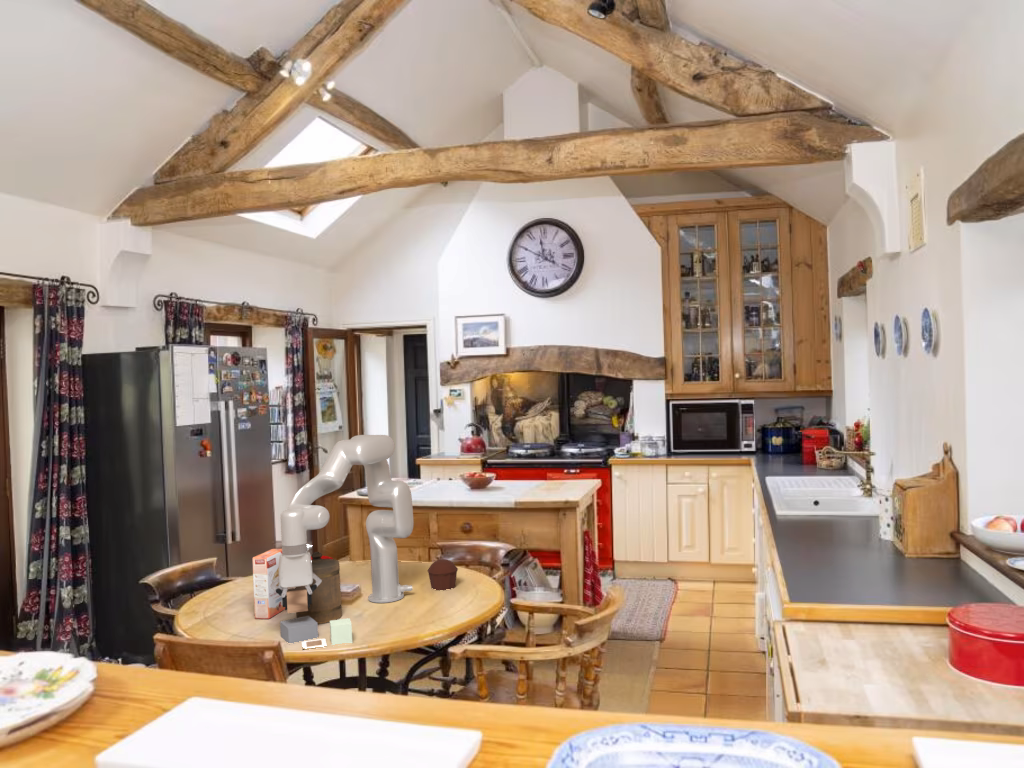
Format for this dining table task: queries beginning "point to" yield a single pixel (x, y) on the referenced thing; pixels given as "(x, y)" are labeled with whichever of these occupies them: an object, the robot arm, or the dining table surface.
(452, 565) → the muffin
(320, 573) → the wooden container
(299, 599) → the walnut cube
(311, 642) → the tile
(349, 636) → the sage cube
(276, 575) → the cracker box
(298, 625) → the base block
